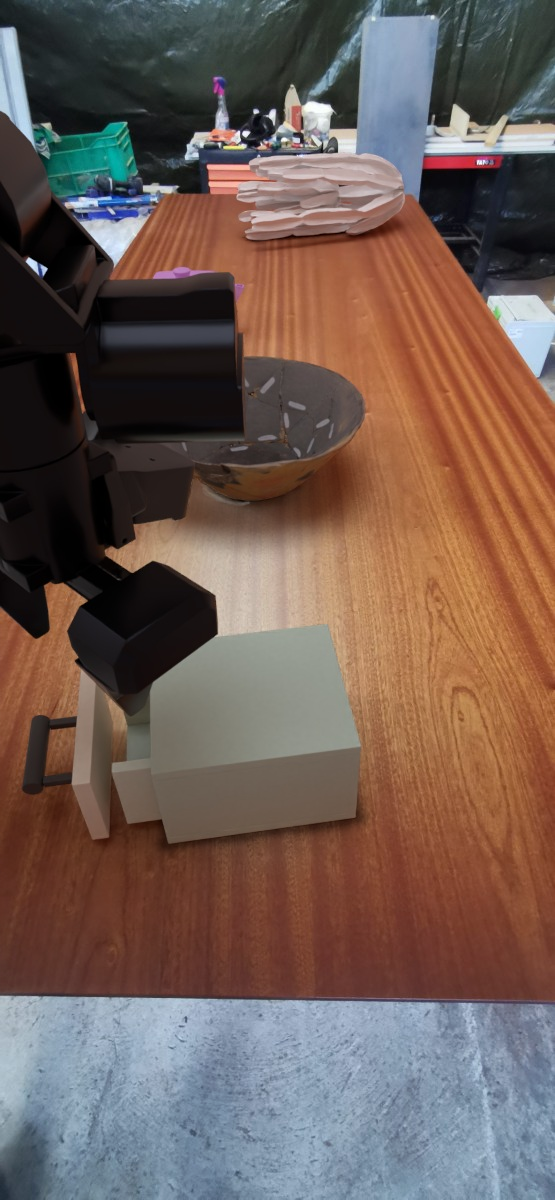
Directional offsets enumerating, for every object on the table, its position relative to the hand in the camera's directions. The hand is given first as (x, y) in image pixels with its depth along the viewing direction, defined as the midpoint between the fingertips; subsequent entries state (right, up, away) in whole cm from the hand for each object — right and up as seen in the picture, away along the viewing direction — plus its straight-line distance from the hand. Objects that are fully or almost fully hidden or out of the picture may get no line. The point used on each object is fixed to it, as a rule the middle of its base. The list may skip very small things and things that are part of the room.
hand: (86, 670), depth 44 cm
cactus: (+21, +81, +112) cm, 140 cm away
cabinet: (+10, -9, +13) cm, 18 cm away
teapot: (-2, +47, +75) cm, 88 cm away
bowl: (+9, +18, +43) cm, 47 cm away
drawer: (+2, -9, +12) cm, 15 cm away
